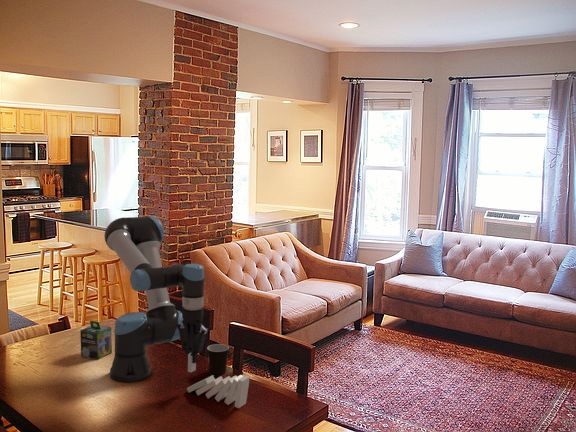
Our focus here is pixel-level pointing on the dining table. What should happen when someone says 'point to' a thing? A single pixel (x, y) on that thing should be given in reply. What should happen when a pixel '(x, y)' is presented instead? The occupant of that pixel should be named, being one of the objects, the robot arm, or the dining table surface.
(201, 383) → the end tile
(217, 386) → the tile
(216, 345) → the coffee mug
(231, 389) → the tile
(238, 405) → the grey rectangular block
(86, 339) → the chalk box
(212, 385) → the tile
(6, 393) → the dining table surface
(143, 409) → the dining table surface
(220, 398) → the tile
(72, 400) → the dining table surface
